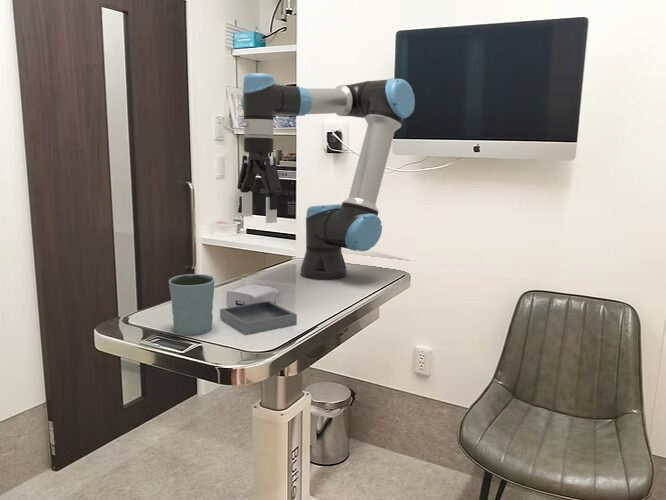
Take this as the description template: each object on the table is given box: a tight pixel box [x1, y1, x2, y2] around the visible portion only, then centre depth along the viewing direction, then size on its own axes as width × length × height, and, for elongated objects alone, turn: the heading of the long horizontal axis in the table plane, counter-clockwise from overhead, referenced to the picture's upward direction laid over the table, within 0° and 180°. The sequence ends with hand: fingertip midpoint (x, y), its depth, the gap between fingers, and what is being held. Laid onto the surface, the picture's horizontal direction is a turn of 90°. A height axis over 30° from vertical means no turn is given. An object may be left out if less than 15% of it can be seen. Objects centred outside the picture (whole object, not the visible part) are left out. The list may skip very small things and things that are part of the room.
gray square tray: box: [219, 301, 298, 336], centre depth 134 cm, size 14×14×2 cm
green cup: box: [168, 273, 215, 336], centre depth 127 cm, size 10×10×12 cm
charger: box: [225, 283, 279, 308], centre depth 149 cm, size 5×9×15 cm
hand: (258, 219), depth 145 cm, fingers open, 13 cm apart
